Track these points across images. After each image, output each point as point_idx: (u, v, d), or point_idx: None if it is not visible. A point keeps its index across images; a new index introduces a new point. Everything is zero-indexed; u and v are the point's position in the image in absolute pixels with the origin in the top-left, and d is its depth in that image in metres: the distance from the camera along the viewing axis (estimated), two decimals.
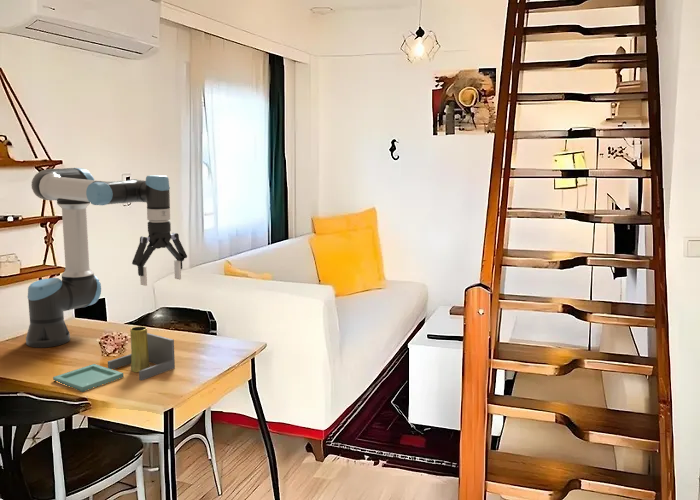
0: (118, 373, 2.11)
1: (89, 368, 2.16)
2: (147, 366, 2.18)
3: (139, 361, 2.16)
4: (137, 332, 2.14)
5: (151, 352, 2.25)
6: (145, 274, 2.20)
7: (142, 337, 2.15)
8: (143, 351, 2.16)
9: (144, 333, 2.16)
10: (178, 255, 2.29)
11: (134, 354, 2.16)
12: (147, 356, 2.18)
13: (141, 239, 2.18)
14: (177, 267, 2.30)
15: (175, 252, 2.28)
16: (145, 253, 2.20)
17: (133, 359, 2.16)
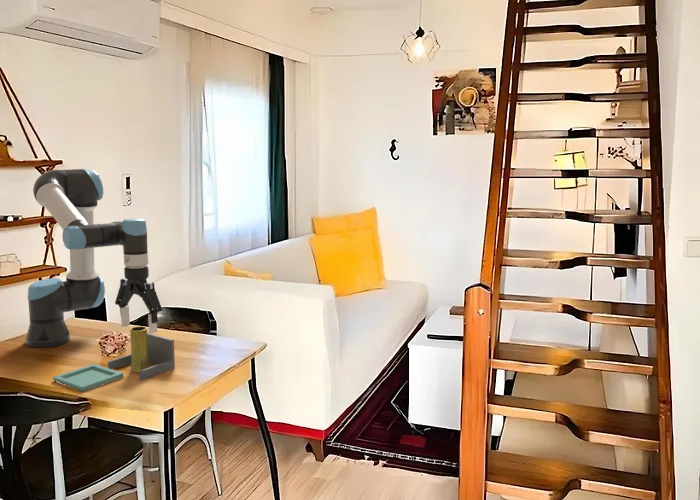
0: (118, 373, 2.11)
1: (89, 368, 2.16)
2: (147, 366, 2.18)
3: (139, 361, 2.16)
4: (137, 332, 2.14)
5: (151, 352, 2.25)
6: (121, 315, 2.19)
7: (142, 337, 2.15)
8: (143, 351, 2.16)
9: (144, 333, 2.16)
10: (148, 307, 2.11)
11: (134, 354, 2.16)
12: (147, 356, 2.18)
13: None
14: None
15: (145, 303, 2.11)
16: None
17: (133, 359, 2.16)
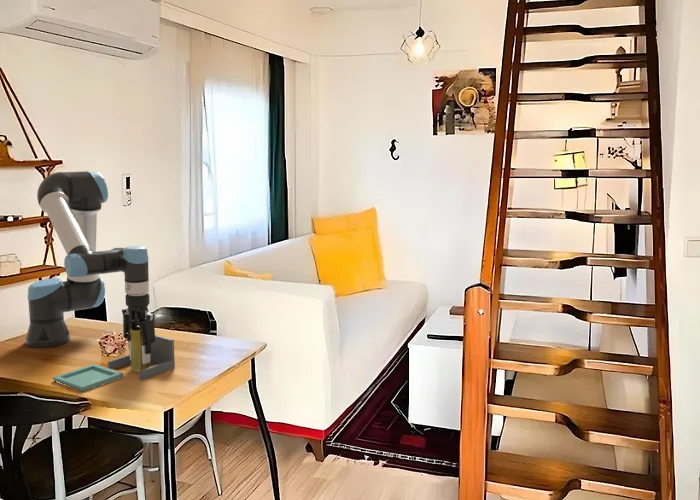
0: (118, 373, 2.11)
1: (89, 368, 2.16)
2: (147, 366, 2.18)
3: (139, 361, 2.16)
4: (137, 332, 2.14)
5: (151, 352, 2.25)
6: (130, 349, 2.19)
7: None
8: None
9: None
10: (143, 337, 2.14)
11: (134, 354, 2.16)
12: None
13: None
14: None
15: (142, 332, 2.14)
16: None
17: (133, 359, 2.16)
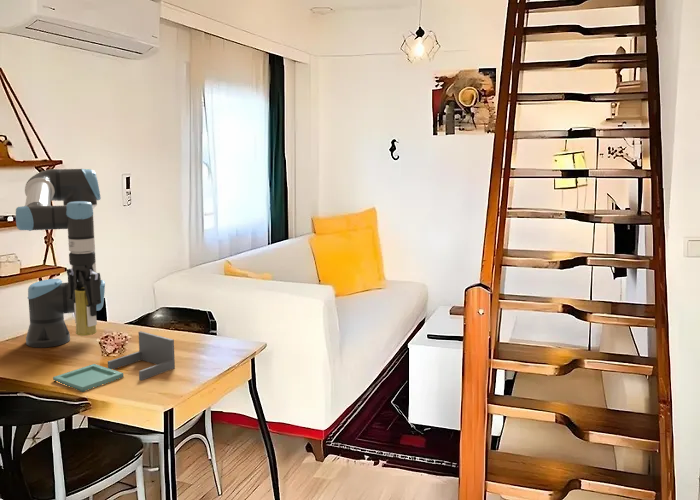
0: (118, 373, 2.11)
1: (89, 368, 2.16)
2: (93, 329, 2.06)
3: (84, 324, 2.04)
4: (81, 293, 2.02)
5: (151, 352, 2.25)
6: (75, 311, 2.06)
7: (86, 298, 2.03)
8: None
9: None
10: (88, 298, 2.02)
11: (79, 316, 2.03)
12: None
13: None
14: None
15: (86, 293, 2.02)
16: None
17: (78, 321, 2.04)
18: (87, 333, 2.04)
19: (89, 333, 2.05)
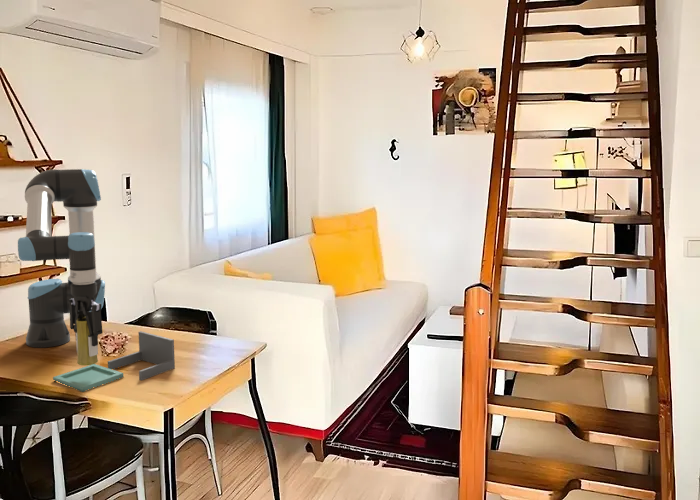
0: (118, 373, 2.11)
1: (89, 368, 2.16)
2: (94, 359, 2.08)
3: (85, 353, 2.05)
4: (83, 323, 2.04)
5: (151, 352, 2.25)
6: (76, 341, 2.08)
7: None
8: None
9: None
10: (89, 328, 2.04)
11: (80, 346, 2.05)
12: None
13: None
14: None
15: (88, 323, 2.04)
16: None
17: (79, 351, 2.05)
18: (88, 363, 2.06)
19: (90, 363, 2.06)
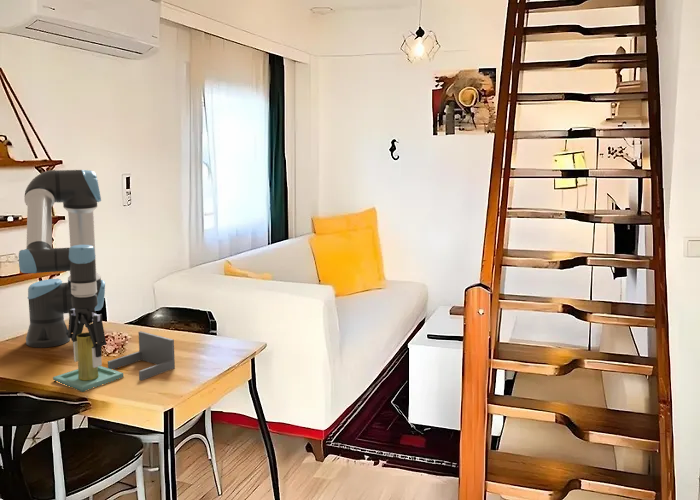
0: (118, 373, 2.11)
1: None
2: (95, 374, 2.09)
3: (86, 369, 2.06)
4: (83, 339, 2.05)
5: (151, 352, 2.25)
6: (74, 350, 2.09)
7: (88, 343, 2.05)
8: (90, 358, 2.06)
9: (91, 340, 2.06)
10: (92, 340, 2.04)
11: (81, 361, 2.06)
12: None
13: None
14: None
15: (90, 335, 2.04)
16: None
17: (80, 367, 2.06)
18: (89, 378, 2.07)
19: (91, 378, 2.07)
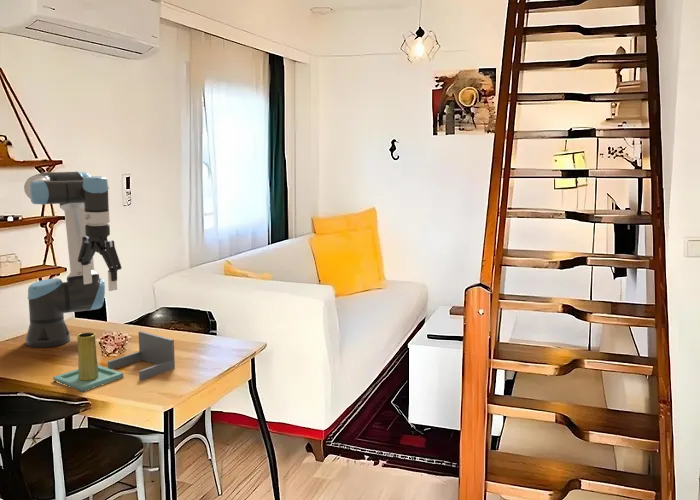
0: (118, 373, 2.11)
1: None
2: (95, 374, 2.09)
3: (86, 369, 2.06)
4: (84, 339, 2.05)
5: (151, 352, 2.25)
6: (83, 273, 2.20)
7: (89, 343, 2.06)
8: (90, 358, 2.06)
9: (92, 340, 2.06)
10: (108, 265, 2.12)
11: (81, 361, 2.06)
12: (95, 364, 2.08)
13: None
14: None
15: (105, 260, 2.13)
16: None
17: (80, 367, 2.07)
18: (89, 378, 2.07)
19: (91, 378, 2.07)
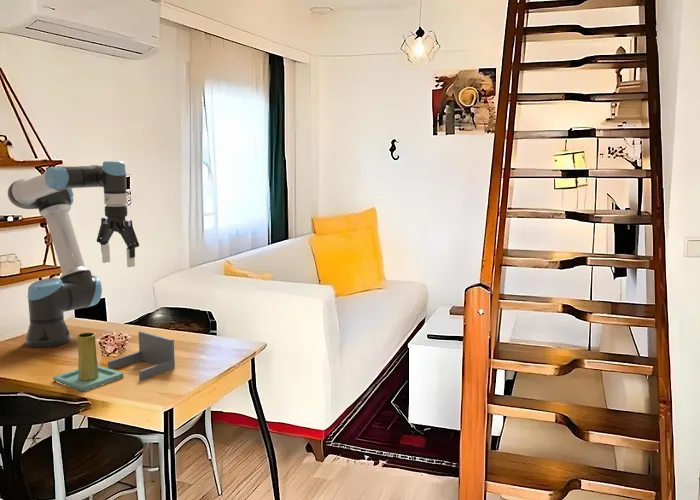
0: (118, 373, 2.11)
1: None
2: (95, 374, 2.09)
3: (86, 369, 2.06)
4: (84, 339, 2.05)
5: (151, 352, 2.25)
6: (102, 252, 2.36)
7: (89, 343, 2.06)
8: (90, 358, 2.06)
9: (92, 340, 2.06)
10: (126, 242, 2.28)
11: (81, 361, 2.06)
12: (95, 364, 2.08)
13: None
14: None
15: (124, 239, 2.28)
16: None
17: (80, 367, 2.07)
18: (89, 378, 2.07)
19: (91, 378, 2.07)
